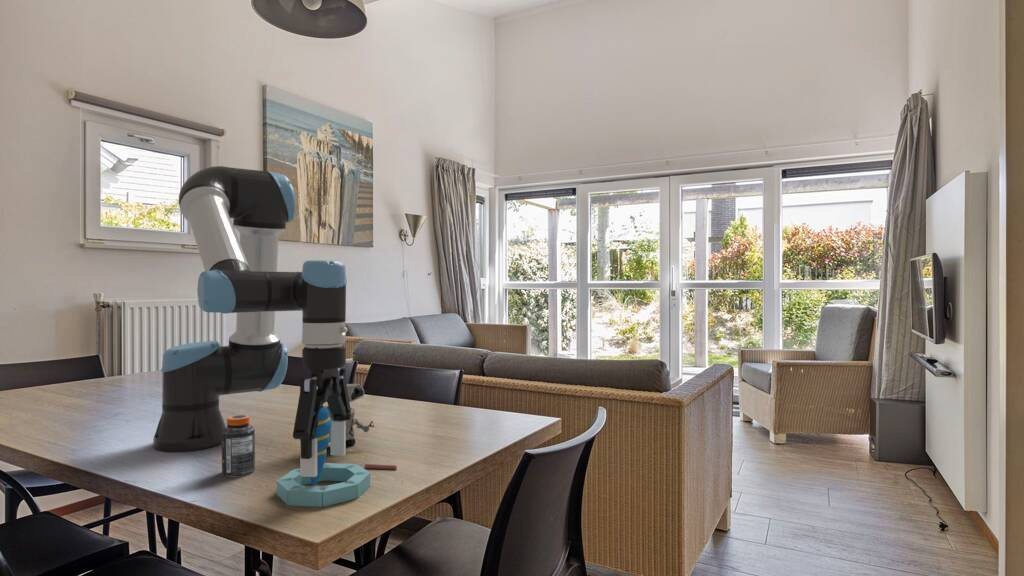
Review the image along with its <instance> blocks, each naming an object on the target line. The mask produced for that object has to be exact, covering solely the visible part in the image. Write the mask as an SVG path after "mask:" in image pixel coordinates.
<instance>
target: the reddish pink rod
mask: <svg viewBox="0 0 1024 576" xmlns="http://www.w3.org/2000/svg"><path fill="white" fill-rule="evenodd" d="M363 467H364V469H378V470H397V468H398V465H396V464H377V463H376V464H373V463H365V464H364V466H363Z"/></svg>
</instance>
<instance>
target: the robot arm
mask: <svg viewBox="0 0 1024 576" xmlns="http://www.w3.org/2000/svg"><path fill="white" fill-rule="evenodd" d="M296 203H297V202H296V195H295V190H294V187H293V184H292V182H291V181H290V179H289V178H288V177H287V176H286V175H284V174H282V173H279V172H274V171H273V172H272V171H268V170H256V169H250V168H249V169H248V168H238V167H228V166H225V165H224V166H222V165H217V166H215V165H214V166H210V167H209V166H208V167H205V168H203V169H200V170H198V171H196V172H195V173H193V174H192V175H191V176H189V178H187V179H186V180H185V182H184V183H183V184H182V187H181V188H180V191H179V195H178V206H179V208H180V209H179V210H180V213H181V215H182V217H183V218H184V219H185V220H186V221H187V222H188V223H189V225H190V227H191V230H192V235H193V236H194V240H195V243H196V246H197V249H198V253H199V256H200V259H201V262H202V266H203V269H204V271H202V272H201V273H200V274H199V276H198V279H197V289H196V290H197V302H198V305H199V308H200V309H201V310H202V311H203V312H205V313H217V314H218V313H221V314H235V313H236V322H235V323H236V325H235V326H236V328H235V331H234V332H233V333H232V334H231V335H230V336H229V337H228V345H225V346H222V345H221V344H220V343H219V341H217V340H205V341H196V342H188V343H185V344H180V345H176V346H173V347H170V348H168V349H166V350H165V351H164V353H163V355H162V360H161V361H162V362H161V364H162V365H161V369H160V371H161V373H162V374H161V375H162V377H161V378H162V381H161V382H162V387H161V388H162V390H161V392H162V393H161V394H162V395H161V396H162V397H161V398H162V399H161V405H162V406H161V407H162V409H161V416H160V418H159V421H158V423H157V427H156V429H155V430H156V431H155V434H154V435H153V439H152V440H153V443H152V444H153V446H152V448H153V449H154V450H156V451H158V452H167V453H169V452H170V453H171V452H172V453H177V452H178V453H179V452H180V453H181V452H188V451H189V452H192V451H198V450H203V449H208V448H212V447H216V446H219V445H222V431H223V430H224V429H225V428H226V427H227V425H226V423H225V421H224V418H223V415H222V412H221V409H220V396H224V395H225V396H226V395H233V394H241V393H242V394H243V393H253V392H259V393H260V392H263V391H269V390H274V389H276V388H278V387H280V385H281V384H282V383H283V381H284V380H285V377H286V375H287V370H288V363H289V362H288V361H289V358H288V349H287V346H286V345H285V344H284V343H282V342H281V337H280V336H279V335H278V334H277V333H276V331H275V319H276V312H296V311H301V312H302V320H301V321H302V323H301V324H302V325H301V326H302V330H301V331H302V333H301V336H302V337H301V339H302V340H301V343H302V344H303V345H304V347H303V348H302V349H301V350H302V354H301V355H302V356H301V357H302V362H301V363H302V364H301V365H302V367H303V368H304V369H306V370H307V369H308V370H309V371H310V373H309V378H302V379H300V382H299V396H298V403H297V409H296V414H295V420H294V426H293V430H292V431H293V432H292V437H293V439H294V440H299V444H300V445H299V447H300V448H299V451H300V453H299V454H300V455H299V457H300V459H299V461H300V462H299V463H300V464H299V465H300V476H302V477H316V476H317V438H314V437H315V433H316V429H317V426H318V412H319V410H320V409H321V408H322V407H323V406H324V404H325V403H327V405H328V406H329V409H330V411H331V414H332V417H333V419H334V420H335V421H332V427H331V442H330V456H339V457H340V456H342V457H343V456H346V453H347V452H346V451H347V450H346V447H347V446H346V445H347V444H346V421H345V420H350V419H351V415H349V414H350V413H351V408H350V407H351V402H349V396H348V390H347V384H348V383H347V377H346V376H347V375H346V374H347V370H346V368H342V367H345V366H346V364H347V362H346V361H347V358H346V357H347V353H346V352H347V347H345V346H344V345H343V344H345V343H346V337H347V336H346V333H347V332H349V331H348V330H349V329H348V327H346V326H347V325H346V317H347V314H346V313H347V312H346V310H347V307H346V305H347V283H348V280H347V275H346V265H345V263H343V262H342V261H340V260H320V259H319V260H316V259H315V260H305V261H304V262H303V264H302V268H301V269H302V270H301V271H278V255H279V236H280V235H282V233H284V232H285V231H286V225H287V224H288V223H291V222H292V221H293V220H294V219H295V214H296V209H297V207H296V206H297V205H296ZM231 219H233V221H232V220H231ZM236 230H237V232H238V233H239V237H238V235H237V232H236ZM326 401H327V402H326ZM314 411H315V412H316V414H315V415H314V416H313V413H314Z"/></svg>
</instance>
